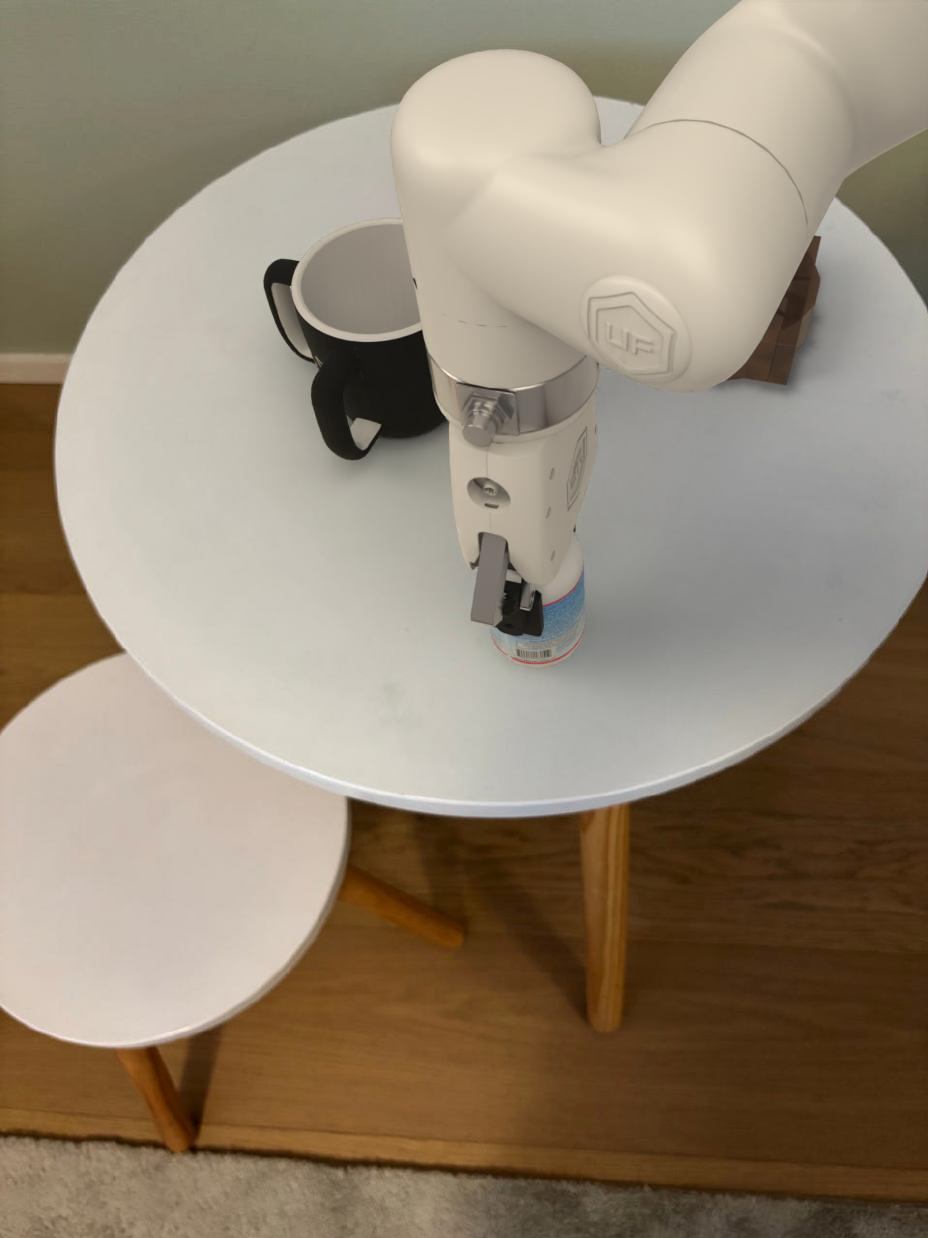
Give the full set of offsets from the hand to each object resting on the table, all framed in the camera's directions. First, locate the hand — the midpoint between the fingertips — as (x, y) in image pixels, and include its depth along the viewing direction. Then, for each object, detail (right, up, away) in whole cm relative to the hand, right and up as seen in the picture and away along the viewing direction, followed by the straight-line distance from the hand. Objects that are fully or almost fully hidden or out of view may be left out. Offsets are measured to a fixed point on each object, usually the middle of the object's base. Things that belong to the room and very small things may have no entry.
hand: (532, 577), depth 61 cm
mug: (-9, +15, +20) cm, 26 cm away
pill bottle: (+1, -3, +5) cm, 6 cm away
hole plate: (+16, +21, +21) cm, 34 cm away
